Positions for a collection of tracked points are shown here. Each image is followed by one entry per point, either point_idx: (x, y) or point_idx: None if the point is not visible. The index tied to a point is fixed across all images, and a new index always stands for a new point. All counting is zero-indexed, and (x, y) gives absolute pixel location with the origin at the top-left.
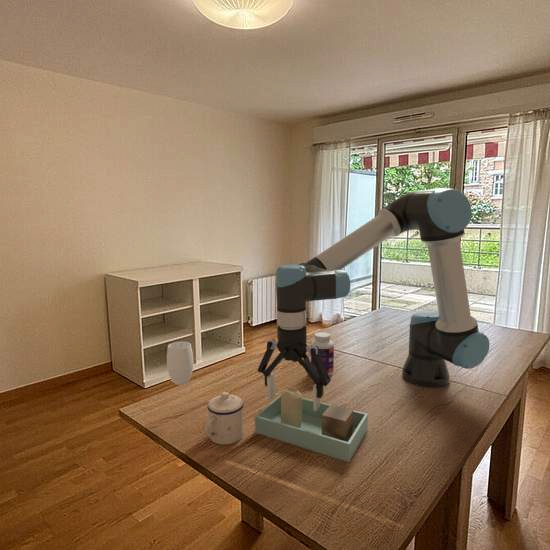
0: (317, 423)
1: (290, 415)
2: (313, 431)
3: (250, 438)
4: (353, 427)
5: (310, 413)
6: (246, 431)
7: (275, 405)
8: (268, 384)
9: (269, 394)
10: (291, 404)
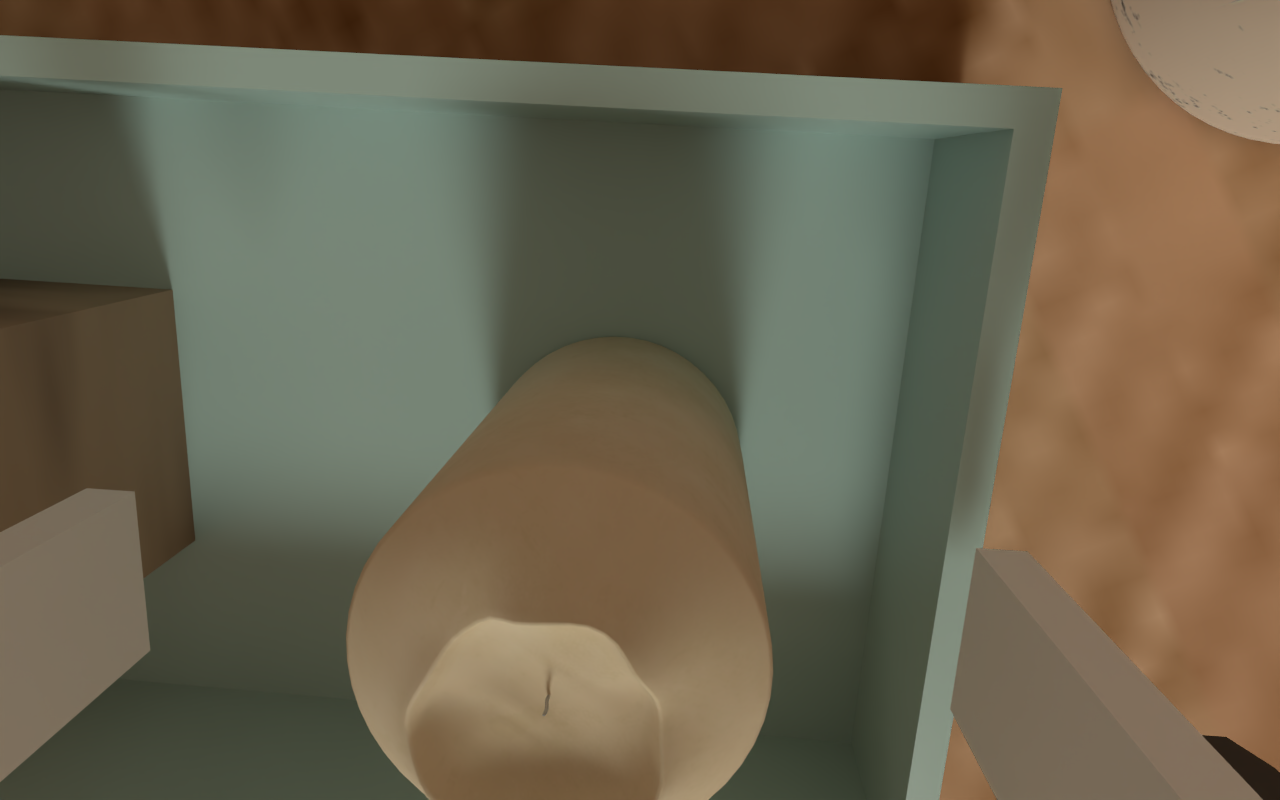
0: None
1: (538, 387)
2: (331, 430)
3: (981, 3)
4: None
5: None
6: (1096, 127)
7: (906, 636)
8: (1163, 735)
9: (1027, 599)
10: (481, 449)
